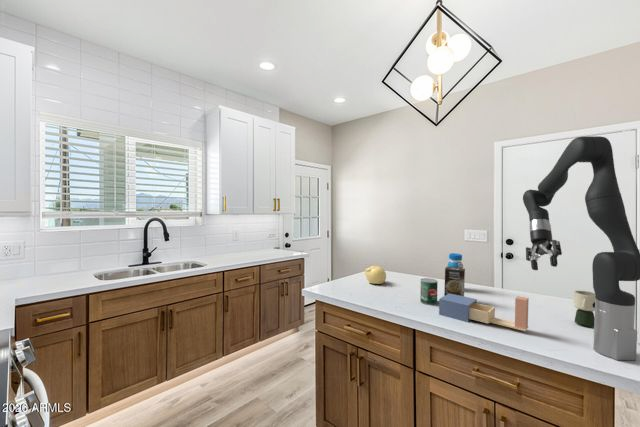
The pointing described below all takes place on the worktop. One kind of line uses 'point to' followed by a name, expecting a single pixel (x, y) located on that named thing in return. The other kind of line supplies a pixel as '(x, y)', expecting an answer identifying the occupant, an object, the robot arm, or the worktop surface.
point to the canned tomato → (428, 291)
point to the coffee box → (454, 281)
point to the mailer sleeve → (456, 306)
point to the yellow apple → (375, 275)
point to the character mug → (584, 307)
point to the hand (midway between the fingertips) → (544, 268)
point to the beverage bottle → (455, 260)
